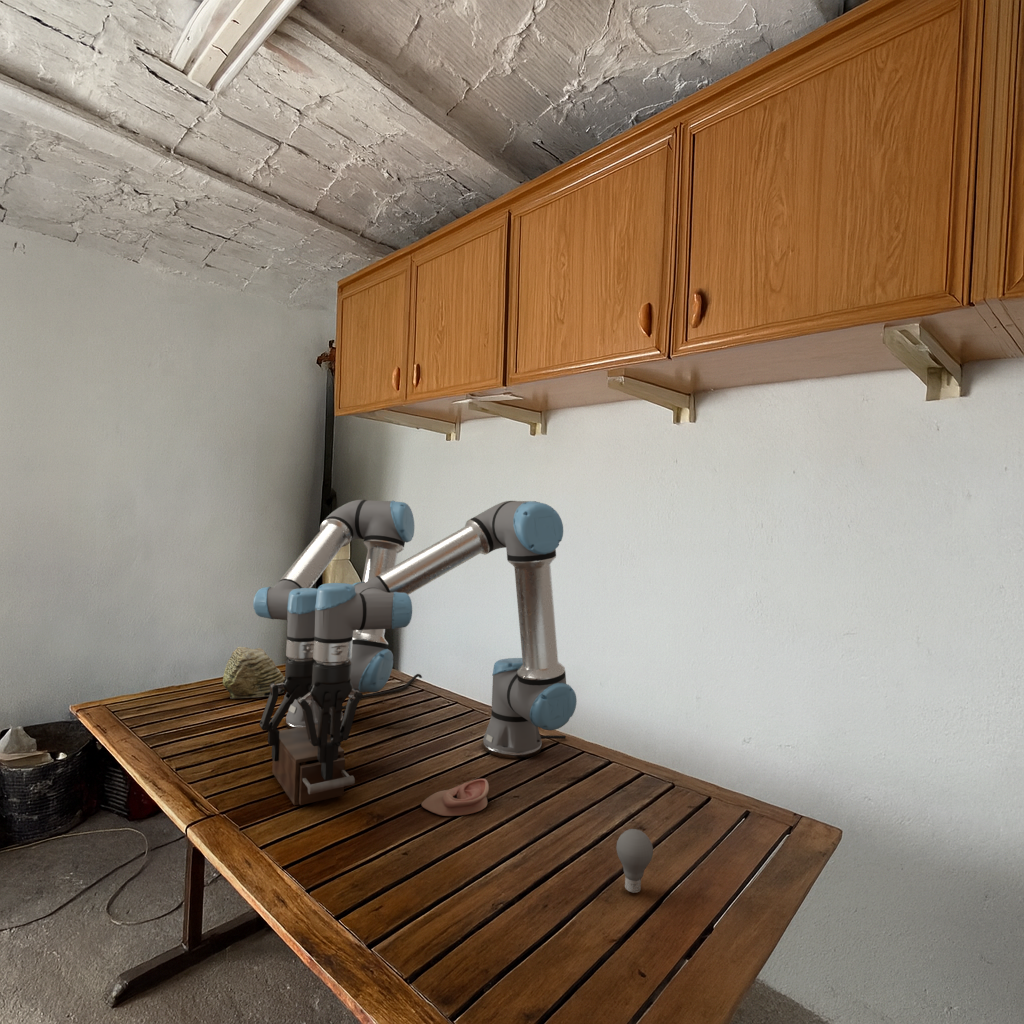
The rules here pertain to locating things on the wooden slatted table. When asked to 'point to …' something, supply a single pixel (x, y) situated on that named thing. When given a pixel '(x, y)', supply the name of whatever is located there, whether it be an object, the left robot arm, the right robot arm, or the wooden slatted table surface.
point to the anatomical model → (459, 799)
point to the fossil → (250, 673)
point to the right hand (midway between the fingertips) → (326, 776)
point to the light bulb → (634, 857)
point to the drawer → (322, 781)
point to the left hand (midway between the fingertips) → (299, 754)
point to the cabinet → (295, 759)
